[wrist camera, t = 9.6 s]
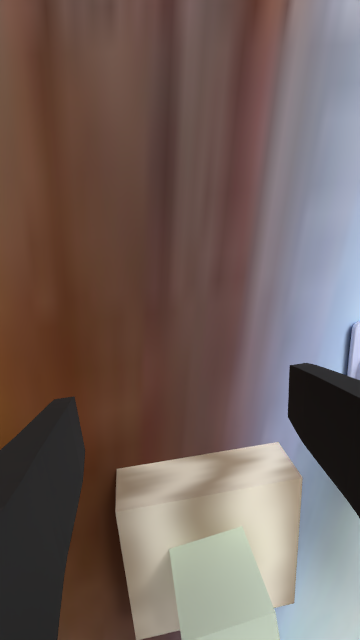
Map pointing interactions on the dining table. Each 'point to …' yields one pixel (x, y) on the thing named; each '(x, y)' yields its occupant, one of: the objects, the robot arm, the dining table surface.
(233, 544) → the green block
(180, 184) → the dining table surface
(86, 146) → the dining table surface
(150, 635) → the beige panel
